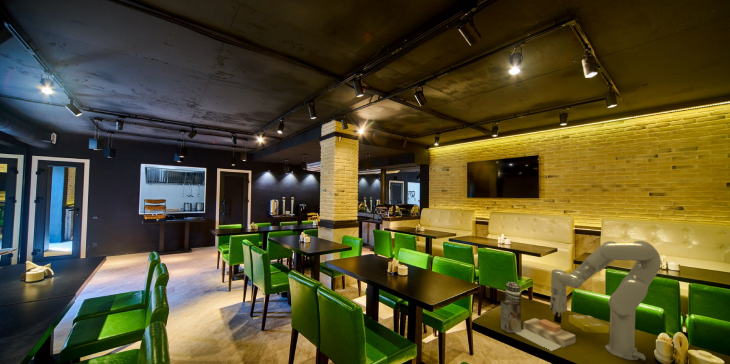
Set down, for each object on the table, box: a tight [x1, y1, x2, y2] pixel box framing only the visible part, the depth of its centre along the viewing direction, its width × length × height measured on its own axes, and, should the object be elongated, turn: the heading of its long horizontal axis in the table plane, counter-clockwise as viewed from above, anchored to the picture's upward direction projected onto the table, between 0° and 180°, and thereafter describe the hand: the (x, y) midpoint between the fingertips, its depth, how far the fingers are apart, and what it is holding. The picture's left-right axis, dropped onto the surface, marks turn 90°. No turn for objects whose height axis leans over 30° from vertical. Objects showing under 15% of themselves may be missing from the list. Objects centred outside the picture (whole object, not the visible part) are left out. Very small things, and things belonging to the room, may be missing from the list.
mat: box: [514, 329, 563, 352], centre depth 154 cm, size 20×10×1 cm, turn 29°
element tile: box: [568, 314, 610, 334], centre depth 172 cm, size 15×15×5 cm
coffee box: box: [499, 300, 522, 334], centre depth 164 cm, size 9×6×16 cm
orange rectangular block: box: [538, 318, 562, 333], centre depth 160 cm, size 9×6×2 cm, turn 29°
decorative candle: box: [504, 281, 522, 304], centre depth 173 cm, size 9×9×25 cm
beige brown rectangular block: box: [522, 317, 577, 349], centre depth 159 cm, size 22×12×4 cm, turn 29°
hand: (557, 322), depth 164 cm, fingers closed
